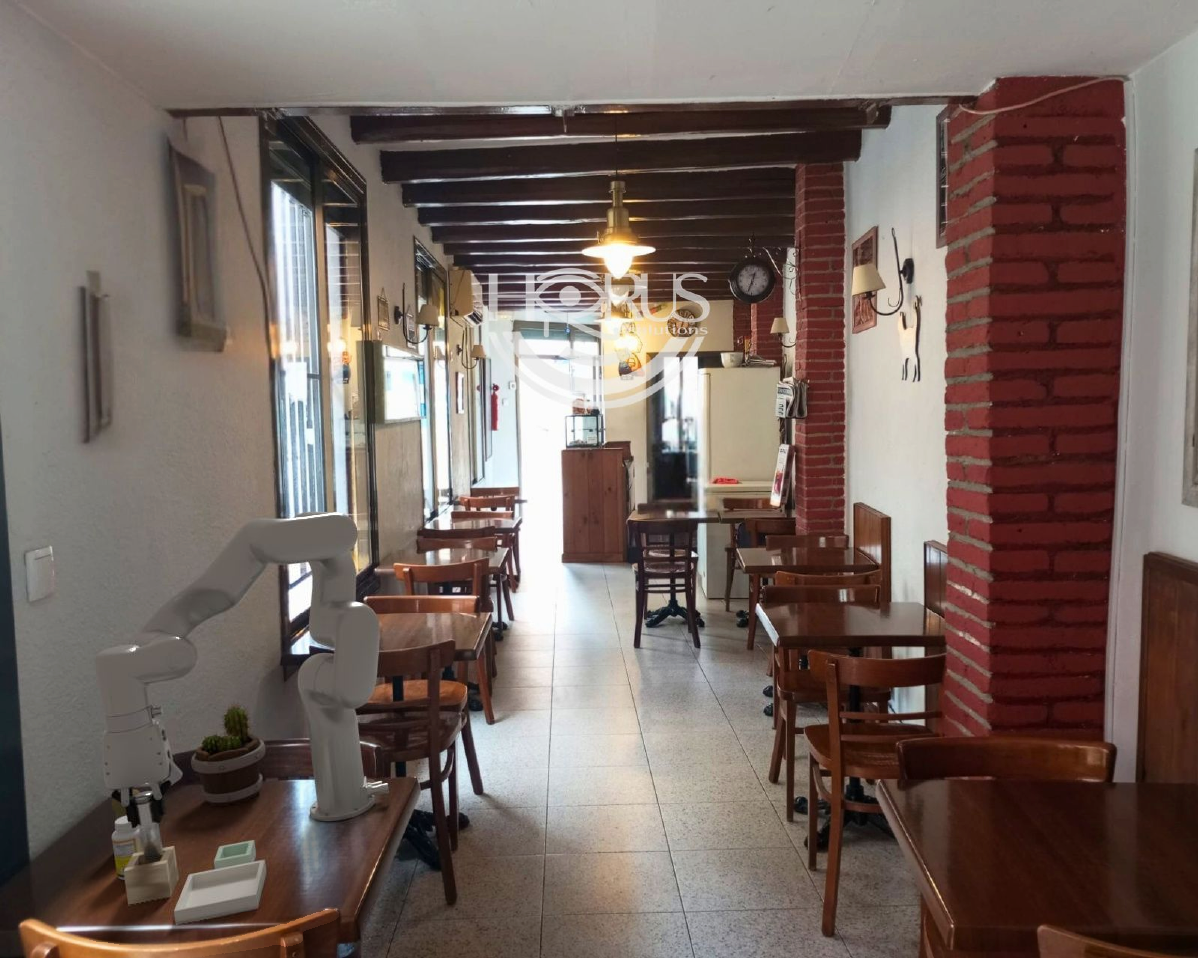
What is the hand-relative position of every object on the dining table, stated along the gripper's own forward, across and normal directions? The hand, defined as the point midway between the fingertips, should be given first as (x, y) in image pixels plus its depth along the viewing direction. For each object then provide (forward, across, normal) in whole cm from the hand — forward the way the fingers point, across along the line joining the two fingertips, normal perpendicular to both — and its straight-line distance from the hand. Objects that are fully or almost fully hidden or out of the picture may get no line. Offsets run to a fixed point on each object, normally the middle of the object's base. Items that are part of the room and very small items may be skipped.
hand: (147, 820), depth 159 cm
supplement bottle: (+13, +6, -8) cm, 16 cm away
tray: (+13, -12, +8) cm, 19 cm away
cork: (+13, +9, -20) cm, 26 cm away
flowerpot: (+14, -7, -37) cm, 40 cm away
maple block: (+12, +1, +1) cm, 12 cm away
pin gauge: (+6, 0, 0) cm, 6 cm away
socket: (+13, -12, -3) cm, 18 cm away
